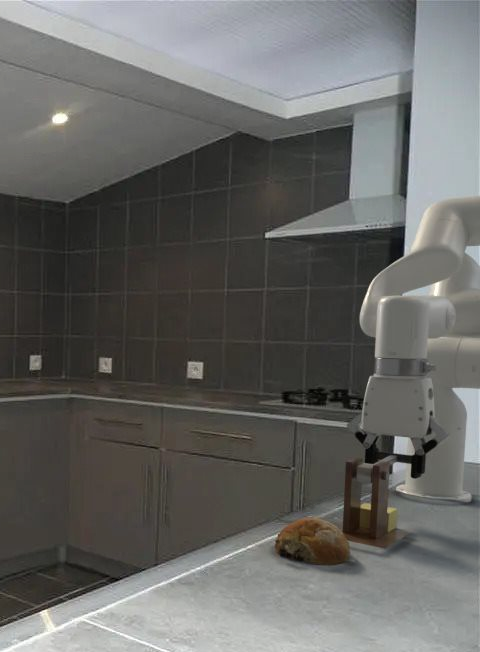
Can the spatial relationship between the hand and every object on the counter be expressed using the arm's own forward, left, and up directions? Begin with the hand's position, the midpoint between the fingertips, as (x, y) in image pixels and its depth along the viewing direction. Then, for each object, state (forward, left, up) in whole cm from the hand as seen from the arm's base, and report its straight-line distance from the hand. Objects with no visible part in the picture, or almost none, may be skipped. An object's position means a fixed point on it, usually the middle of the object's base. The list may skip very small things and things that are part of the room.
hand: (393, 473), depth 122 cm
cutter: (+12, 0, -9) cm, 15 cm away
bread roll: (+28, -2, -9) cm, 30 cm away
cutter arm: (+6, 0, +1) cm, 6 cm away
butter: (+7, 0, -8) cm, 11 cm away
